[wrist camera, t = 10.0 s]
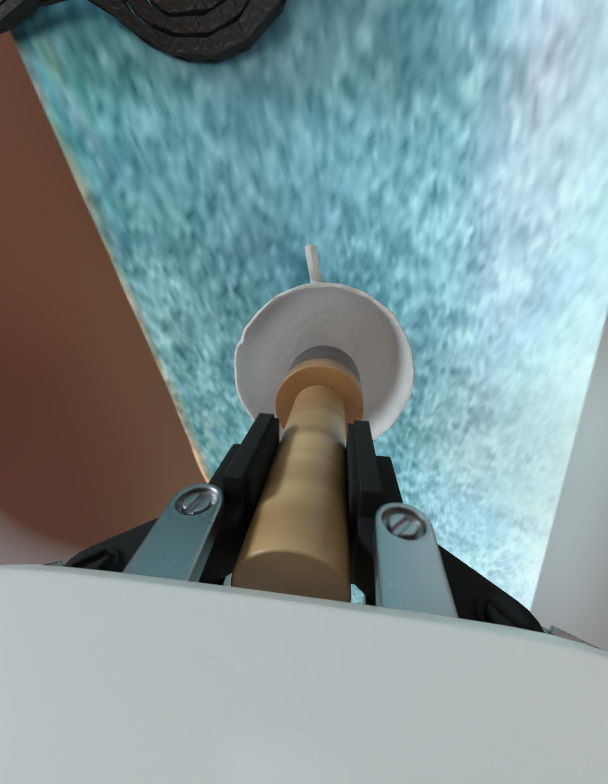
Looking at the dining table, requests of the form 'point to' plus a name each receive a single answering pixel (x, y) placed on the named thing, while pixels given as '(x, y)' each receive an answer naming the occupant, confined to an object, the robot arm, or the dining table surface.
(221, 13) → the hairbrush
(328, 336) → the teacup
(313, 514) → the dish brush
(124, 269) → the dining table surface
